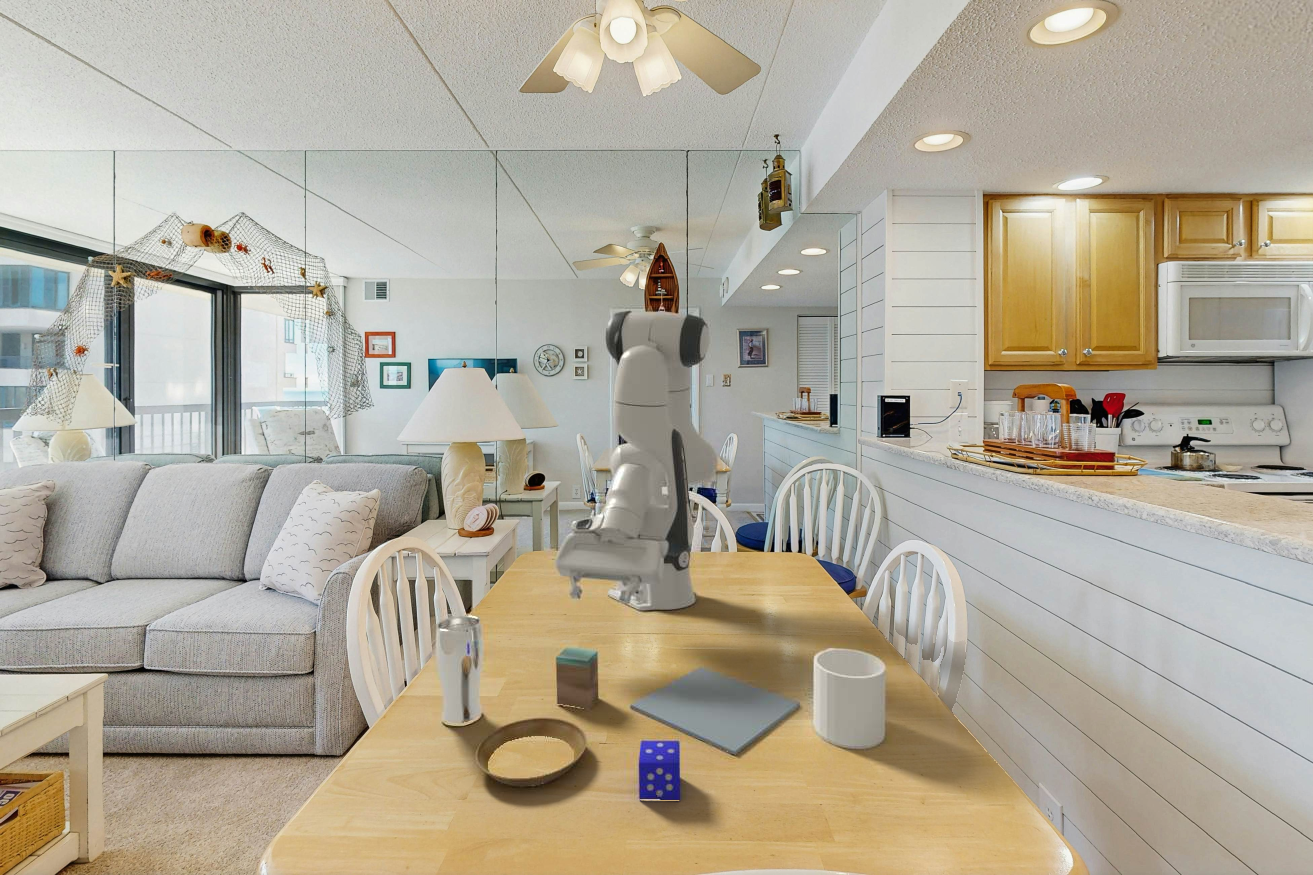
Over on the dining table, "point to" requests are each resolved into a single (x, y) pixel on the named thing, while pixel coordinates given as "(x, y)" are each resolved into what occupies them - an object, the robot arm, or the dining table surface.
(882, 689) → the mug
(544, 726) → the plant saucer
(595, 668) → the green and brown block
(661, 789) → the die
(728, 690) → the slate mat
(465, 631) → the silver metal tumbler
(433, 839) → the dining table surface
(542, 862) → the dining table surface
